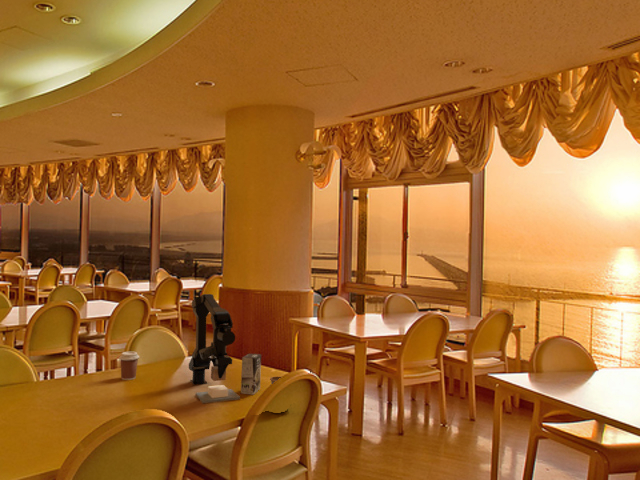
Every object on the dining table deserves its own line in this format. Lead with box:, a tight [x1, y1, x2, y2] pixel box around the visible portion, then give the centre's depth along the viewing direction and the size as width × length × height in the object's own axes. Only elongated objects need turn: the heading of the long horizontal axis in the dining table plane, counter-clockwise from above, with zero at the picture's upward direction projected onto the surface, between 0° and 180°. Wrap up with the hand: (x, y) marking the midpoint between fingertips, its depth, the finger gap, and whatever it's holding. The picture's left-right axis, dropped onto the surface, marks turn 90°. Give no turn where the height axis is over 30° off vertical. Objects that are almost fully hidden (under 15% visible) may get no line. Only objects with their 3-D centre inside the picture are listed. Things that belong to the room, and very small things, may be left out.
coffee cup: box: [118, 351, 140, 381], centre depth 246 cm, size 9×9×12 cm
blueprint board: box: [195, 384, 241, 404], centre depth 222 cm, size 12×16×4 cm
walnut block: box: [210, 365, 227, 382], centre depth 222 cm, size 5×5×5 cm
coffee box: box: [240, 353, 262, 396], centre depth 232 cm, size 9×6×16 cm
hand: (218, 376), depth 222 cm, fingers closed on walnut block, 5 cm apart
